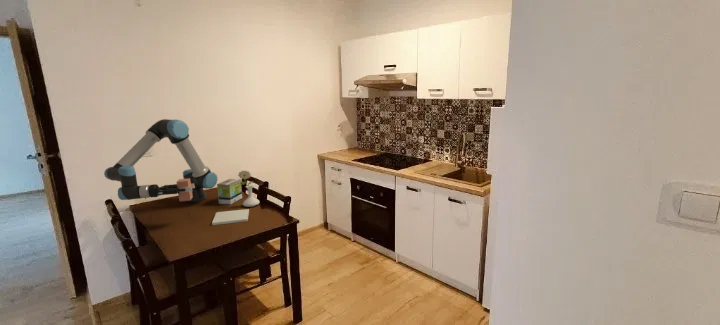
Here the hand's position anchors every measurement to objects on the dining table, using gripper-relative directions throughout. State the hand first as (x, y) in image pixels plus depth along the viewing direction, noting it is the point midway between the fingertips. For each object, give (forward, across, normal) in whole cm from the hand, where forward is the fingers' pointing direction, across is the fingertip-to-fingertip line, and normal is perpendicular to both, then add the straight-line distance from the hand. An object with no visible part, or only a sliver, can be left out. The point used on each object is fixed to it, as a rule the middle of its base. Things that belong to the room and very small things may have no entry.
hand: (192, 187), depth 200 cm
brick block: (-5, 0, -7) cm, 8 cm away
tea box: (+16, -34, -22) cm, 43 cm away
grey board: (+20, +2, -22) cm, 29 cm away
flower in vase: (+30, -20, -22) cm, 42 cm away
